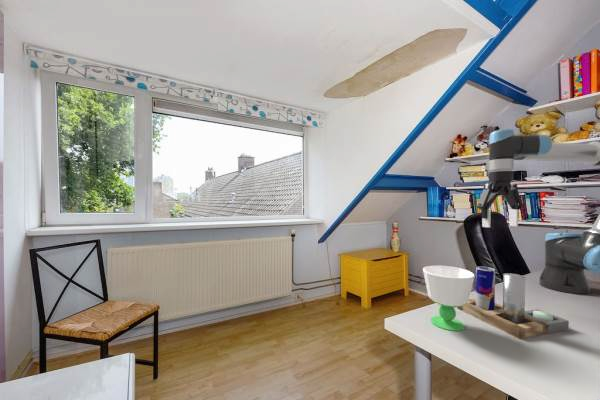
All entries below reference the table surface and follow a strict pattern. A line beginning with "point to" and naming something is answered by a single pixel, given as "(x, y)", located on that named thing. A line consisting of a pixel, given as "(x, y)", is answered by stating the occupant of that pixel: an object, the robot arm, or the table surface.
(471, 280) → the cup
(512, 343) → the table surface
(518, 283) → the billet
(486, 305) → the beverage can
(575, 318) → the table surface
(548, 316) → the button
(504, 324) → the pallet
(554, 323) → the button housing
